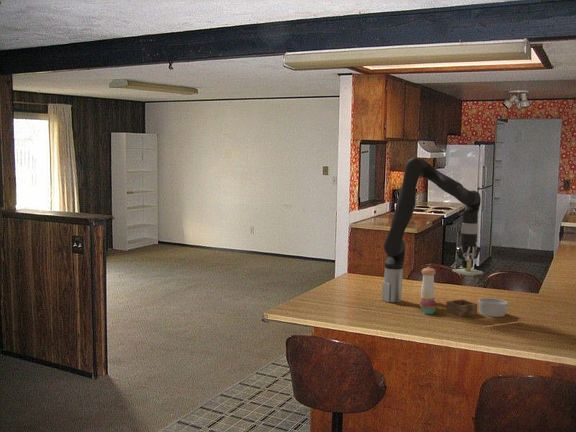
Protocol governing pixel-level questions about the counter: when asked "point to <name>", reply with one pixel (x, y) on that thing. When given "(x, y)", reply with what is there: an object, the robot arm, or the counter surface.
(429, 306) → the cupcake
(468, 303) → the walnut box
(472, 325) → the counter surface
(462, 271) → the lid
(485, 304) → the ramekin
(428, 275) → the pepper shaker
